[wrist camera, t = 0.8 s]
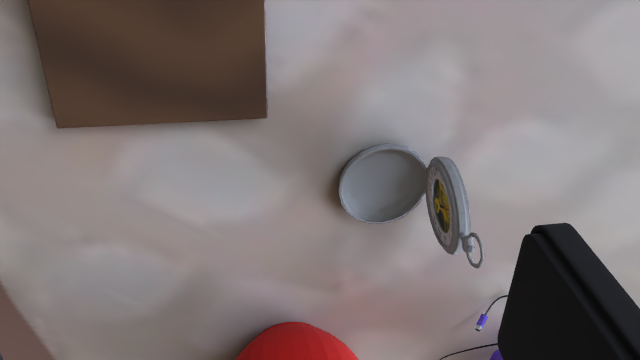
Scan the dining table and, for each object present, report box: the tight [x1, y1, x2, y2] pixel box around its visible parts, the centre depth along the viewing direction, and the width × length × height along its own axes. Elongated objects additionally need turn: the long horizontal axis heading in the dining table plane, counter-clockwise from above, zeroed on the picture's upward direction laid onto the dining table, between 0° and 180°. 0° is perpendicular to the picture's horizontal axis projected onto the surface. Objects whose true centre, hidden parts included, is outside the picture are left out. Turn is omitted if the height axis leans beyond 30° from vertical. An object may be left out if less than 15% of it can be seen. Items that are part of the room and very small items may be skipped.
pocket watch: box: [338, 144, 484, 268], centre depth 41 cm, size 8×8×10 cm
